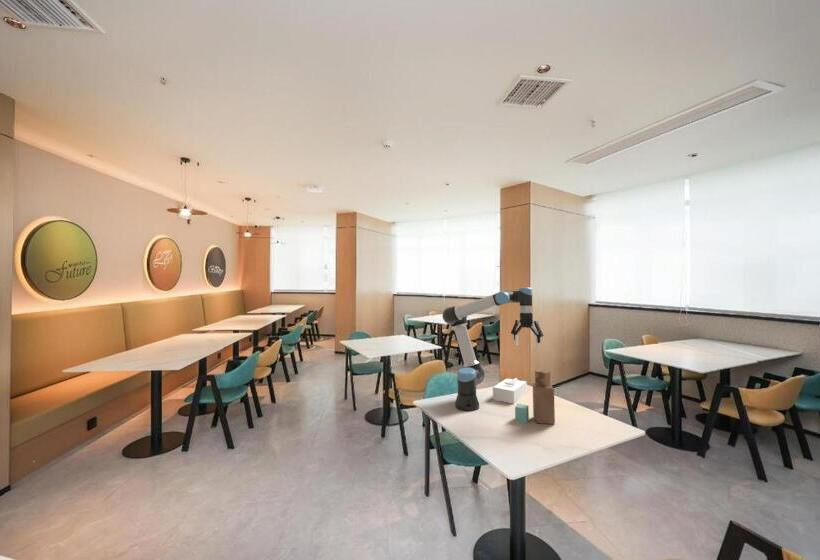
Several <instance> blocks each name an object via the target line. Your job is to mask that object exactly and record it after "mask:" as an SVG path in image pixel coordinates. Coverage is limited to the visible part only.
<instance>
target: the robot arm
mask: <svg viewBox="0 0 820 560" xmlns="http://www.w3.org/2000/svg"><path fill="white" fill-rule="evenodd" d="M512 303H513V304H514V303H517V304H518V303H519V312H520V313H519V319H518V318H516V319H515V321H514V322H515V323H514V324H513V326H512V329H511V332H510V333H511V334H512V335H513V340H514V345H515V346H516V347H517V346H519V333H520V331H521V330H522V329H523V328H526V329H530V330H531V332H532V333H533V334H534V335H535V336H536V337H535V349H539V348H540V343H541V338H542V337H544V336H545V335H544V333H543V332H542V330H541V327H540V325H539V321H538V320H533V319H534V318H533V317H534V315H533V314H534V313H533V310H534V308H533V289H532V288H531V287H519V288H518V290H501V291H499V292H496V293H495V294H491V295H488V296H485V297H482V298H479V299H477V300H474V301H471V302H467V303H465V304H462V305H455V306H454V305H453V306H450V307H446V308H445V309H444V310H443V311H442V314H441V315H442V319H443V321H444V323H446V324H448V325H450V327H451V328H452V329H453V330H454V333H455V336H456V341H457V343H458V347H459V349H460V350H459V351H460V353H461V356H462V360H463V366H462V367H463V368H460V369H458V370H457V375H456V377H457V378H456V379H457V395H456V399H455V401H454V402H455V403H454V404H455V406H454V407H455V408H456V409H457V410H459V411H460V410H461V411H464V412H465V411H466V412H467V411H468V412H471V411H477V410H478V409H479V408H480V402H479V399H478V396H477V386H478V385H480V384H481V383H482V382H483V381H484V380H485V377H486V370H485V369H484V367H483V366H482V365H481V363H480V361H478V360H477V357H476V354H475V350H474V347H473V344H472V341H471V337H470V334H469V331H468V327H467V326H468V324H469V323H468V319H467V318H468V317H469V316H472V315H474V314H478V313H481V312H485V311H487V310H490V309H493V308H495V307H496V308H497V307H499V306H502V305H506V304H512ZM519 324H520V325H519Z"/></svg>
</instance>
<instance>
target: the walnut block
mask: <svg viewBox="0 0 820 560" xmlns="http://www.w3.org/2000/svg"><path fill="white" fill-rule="evenodd" d="M534 374H535V375H534V381H535V382H534V383H535V385H536V386H541V387H548V386H550V384H551V370H547V369H539V368H538V369H537V370H535V371H534Z"/></svg>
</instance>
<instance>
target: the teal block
mask: <svg viewBox="0 0 820 560" xmlns="http://www.w3.org/2000/svg"><path fill="white" fill-rule="evenodd" d="M514 411H515V412H514V413H515V414H514V415H515V416H514V417H515V418H514V419H515V422H517V423H518V422H519V423H523V424H527V423H528V421H529V419H530V415H529V413H530V412H529V411H530V410H529V405H527V404H522V403H516V404H515V406H514Z"/></svg>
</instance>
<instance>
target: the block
mask: <svg viewBox="0 0 820 560" xmlns="http://www.w3.org/2000/svg"><path fill="white" fill-rule="evenodd" d="M532 410H533V412H532V416H533V419H534V420H535V422H536V423H537V424H545V425H547V424H548V425H555V423H556V413H555V412H556V411H555V389H554V386H552V384H551V383H550V386H548V387H541V386H536V385H535V382H533V383H532Z"/></svg>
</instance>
